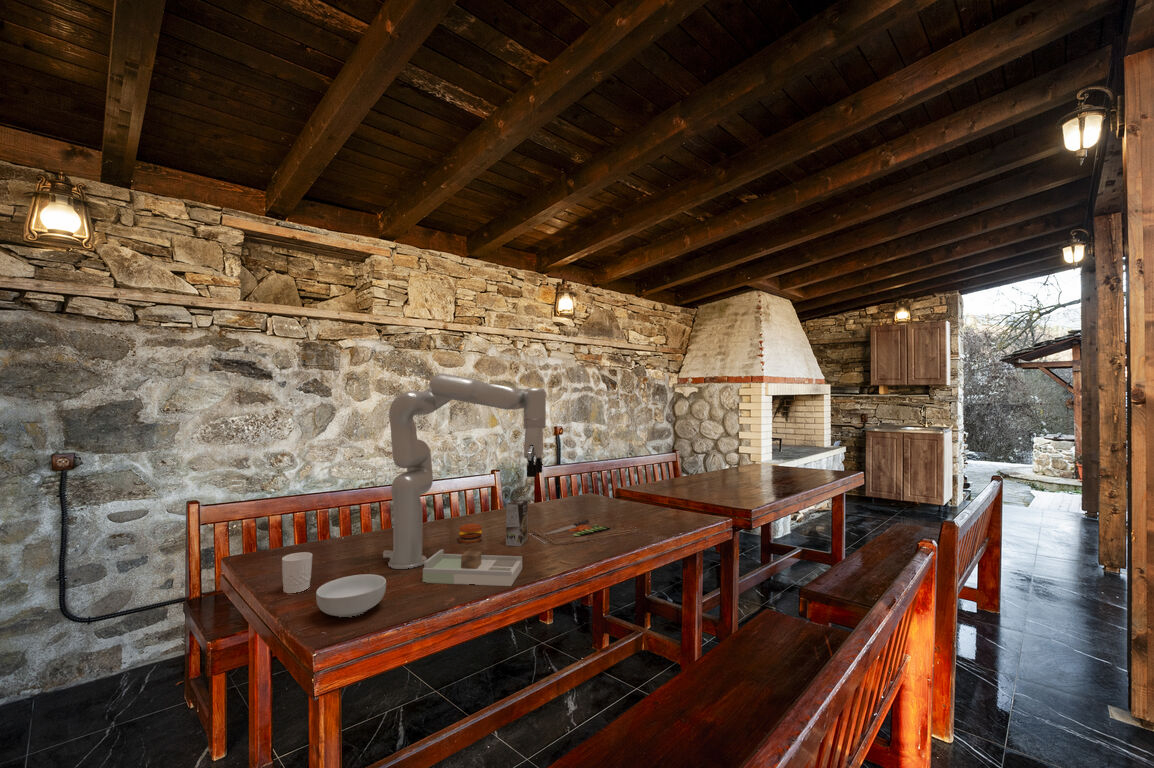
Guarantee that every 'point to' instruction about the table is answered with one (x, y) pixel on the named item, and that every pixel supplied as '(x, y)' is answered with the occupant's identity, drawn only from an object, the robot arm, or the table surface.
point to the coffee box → (516, 522)
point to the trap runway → (472, 570)
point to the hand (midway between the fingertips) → (534, 474)
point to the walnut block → (471, 560)
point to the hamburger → (470, 533)
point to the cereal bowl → (351, 595)
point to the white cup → (296, 572)
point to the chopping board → (577, 532)
